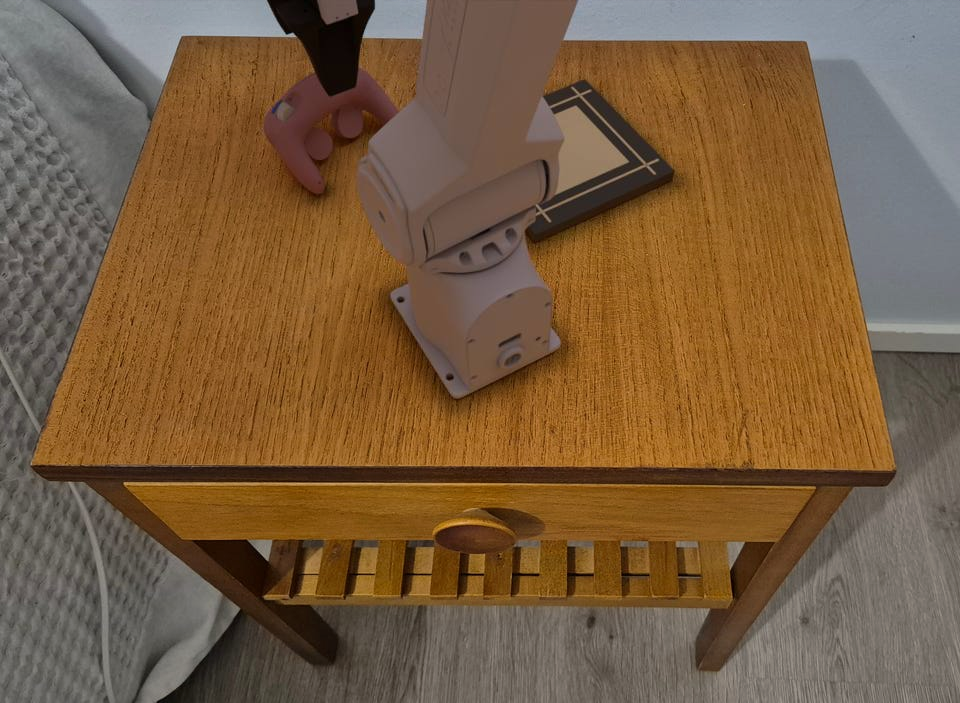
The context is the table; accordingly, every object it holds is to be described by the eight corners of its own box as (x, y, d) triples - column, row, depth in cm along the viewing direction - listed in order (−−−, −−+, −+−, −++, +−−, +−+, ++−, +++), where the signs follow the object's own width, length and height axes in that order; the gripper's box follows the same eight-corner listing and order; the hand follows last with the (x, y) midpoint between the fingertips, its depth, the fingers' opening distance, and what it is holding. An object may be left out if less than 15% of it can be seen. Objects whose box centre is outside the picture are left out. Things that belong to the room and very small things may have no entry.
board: (672, 180, 60) (675, 169, 59) (534, 243, 57) (534, 233, 56) (584, 88, 66) (585, 77, 65) (454, 142, 63) (453, 131, 62)
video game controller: (382, 127, 67) (343, 46, 63) (414, 130, 63) (376, 45, 59) (289, 193, 63) (242, 111, 59) (318, 201, 60) (270, 114, 55)
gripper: (160, -185, 47) (228, 21, 59) (247, -67, 40) (305, 141, 52) (273, -216, 49) (318, -10, 60) (375, -108, 42) (404, 102, 53)
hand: (318, 57), depth 56 cm, fingers open, 7 cm apart
